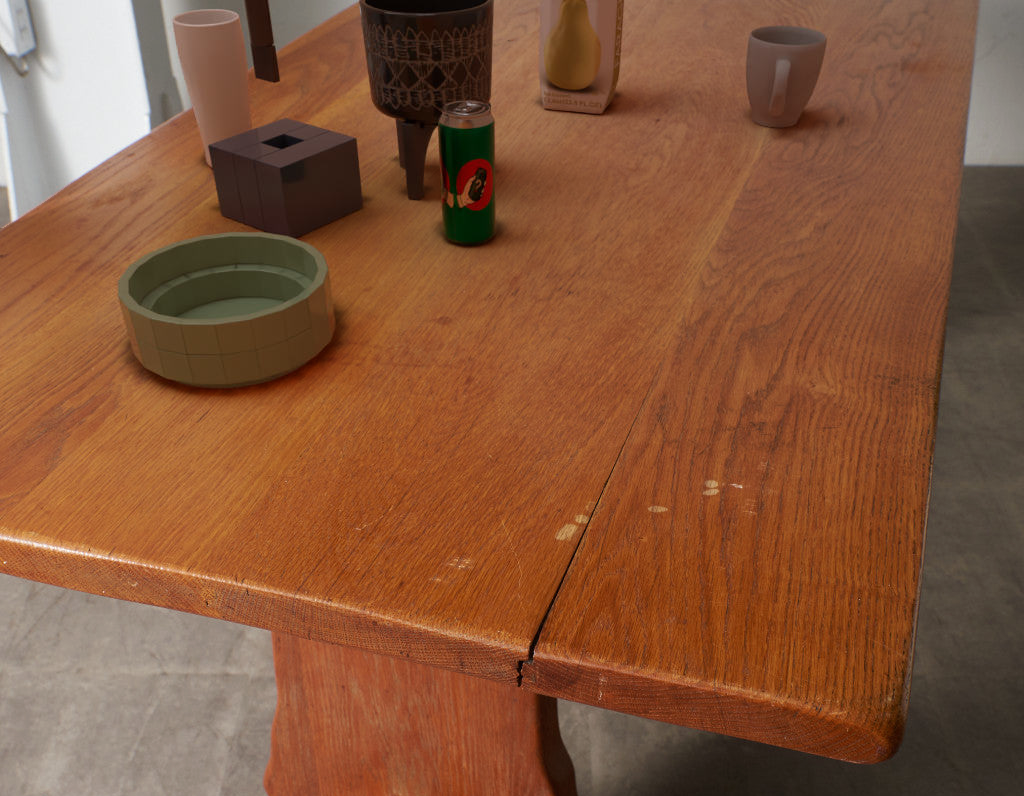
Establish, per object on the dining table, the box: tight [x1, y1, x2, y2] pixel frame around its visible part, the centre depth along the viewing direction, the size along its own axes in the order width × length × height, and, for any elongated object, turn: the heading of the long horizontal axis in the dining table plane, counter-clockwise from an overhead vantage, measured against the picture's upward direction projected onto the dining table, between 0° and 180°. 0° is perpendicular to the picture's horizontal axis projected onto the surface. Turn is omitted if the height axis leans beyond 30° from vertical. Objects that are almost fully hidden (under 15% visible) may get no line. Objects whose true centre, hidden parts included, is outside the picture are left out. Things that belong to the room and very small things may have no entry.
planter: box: [358, 0, 495, 201], centre depth 102 cm, size 13×13×18 cm
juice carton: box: [538, 0, 625, 115], centre depth 119 cm, size 9×8×24 cm
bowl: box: [117, 231, 337, 389], centre depth 79 cm, size 16×16×6 cm
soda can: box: [437, 101, 497, 247], centre depth 93 cm, size 5×5×12 cm
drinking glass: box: [172, 8, 253, 169], centre depth 107 cm, size 7×7×15 cm
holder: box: [208, 117, 364, 239], centre depth 99 cm, size 10×10×7 cm
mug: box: [745, 25, 828, 128], centre depth 118 cm, size 12×9×10 cm
